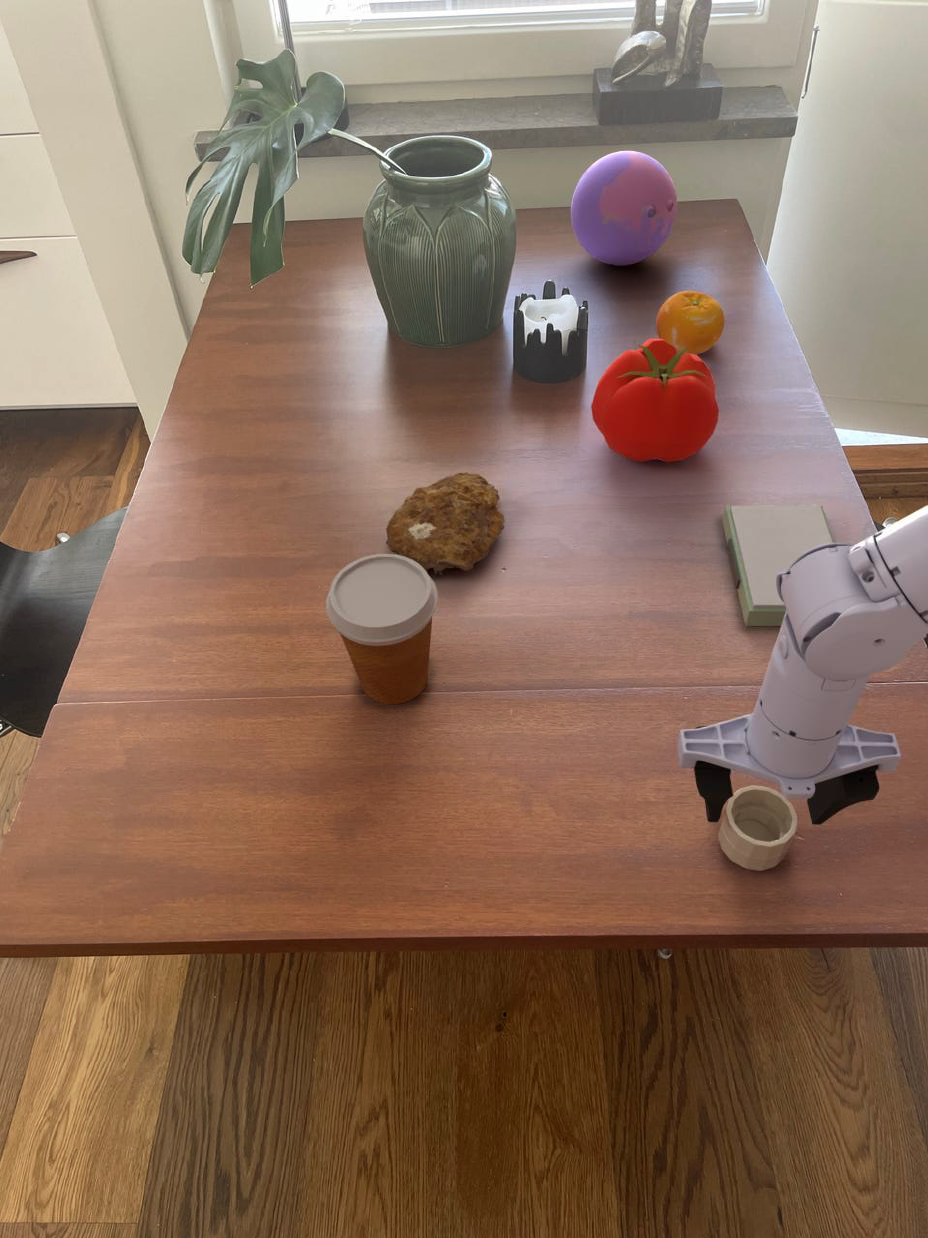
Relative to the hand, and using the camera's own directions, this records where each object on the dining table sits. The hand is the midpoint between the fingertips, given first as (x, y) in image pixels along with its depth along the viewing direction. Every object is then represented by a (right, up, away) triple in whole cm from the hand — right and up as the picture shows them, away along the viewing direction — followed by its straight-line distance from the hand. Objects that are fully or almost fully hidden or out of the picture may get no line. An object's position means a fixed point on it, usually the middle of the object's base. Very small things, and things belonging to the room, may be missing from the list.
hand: (762, 811), depth 70 cm
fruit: (+7, +50, +52) cm, 73 cm away
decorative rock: (-24, +24, +30) cm, 45 cm away
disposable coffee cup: (-29, +9, +17) cm, 35 cm away
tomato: (-1, +35, +38) cm, 52 cm away
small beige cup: (0, -3, +4) cm, 5 cm away
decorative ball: (+1, +68, +68) cm, 97 cm away
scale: (+10, +19, +24) cm, 32 cm away
